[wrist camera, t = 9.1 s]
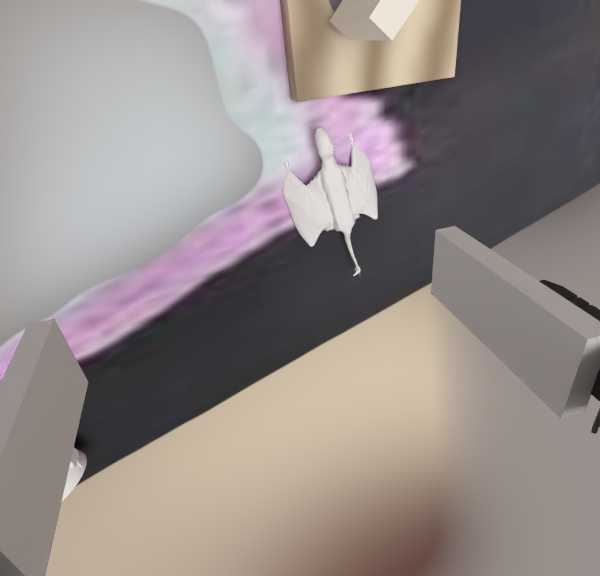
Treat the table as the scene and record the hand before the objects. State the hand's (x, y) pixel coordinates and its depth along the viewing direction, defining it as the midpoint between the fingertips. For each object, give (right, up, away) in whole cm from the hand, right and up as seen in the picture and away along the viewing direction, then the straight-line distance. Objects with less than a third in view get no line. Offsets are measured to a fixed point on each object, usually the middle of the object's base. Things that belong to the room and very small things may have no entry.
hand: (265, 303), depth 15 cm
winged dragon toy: (+5, +10, +33) cm, 35 cm away
